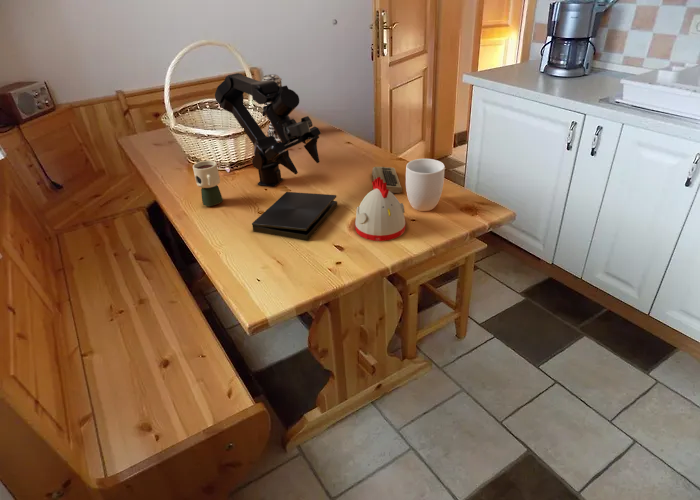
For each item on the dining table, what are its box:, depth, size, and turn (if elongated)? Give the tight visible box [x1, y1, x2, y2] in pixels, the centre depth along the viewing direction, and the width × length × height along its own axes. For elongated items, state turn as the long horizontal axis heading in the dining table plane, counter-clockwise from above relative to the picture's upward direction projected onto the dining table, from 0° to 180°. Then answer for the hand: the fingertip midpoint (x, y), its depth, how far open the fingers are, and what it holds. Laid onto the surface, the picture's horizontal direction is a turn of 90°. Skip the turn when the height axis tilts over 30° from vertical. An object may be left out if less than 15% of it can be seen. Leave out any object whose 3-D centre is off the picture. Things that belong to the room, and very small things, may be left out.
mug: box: [405, 158, 446, 212], centre depth 140 cm, size 15×11×13 cm
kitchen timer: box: [354, 177, 406, 242], centre depth 128 cm, size 14×14×15 cm
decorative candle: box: [260, 73, 283, 142], centre depth 192 cm, size 9×9×25 cm
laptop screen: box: [251, 191, 337, 231], centre depth 137 cm, size 17×21×1 cm
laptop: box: [251, 200, 338, 242], centre depth 138 cm, size 17×21×2 cm
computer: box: [371, 166, 403, 194], centre depth 155 cm, size 16×8×3 cm, turn 3°
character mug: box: [192, 159, 224, 207], centre depth 145 cm, size 11×7×13 cm, turn 25°
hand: (307, 168), depth 143 cm, fingers open, 9 cm apart
